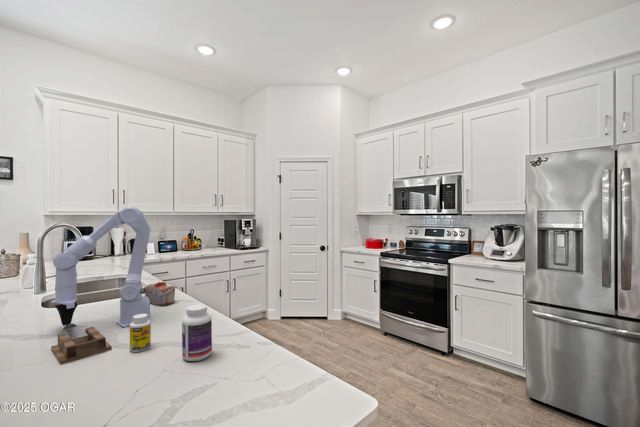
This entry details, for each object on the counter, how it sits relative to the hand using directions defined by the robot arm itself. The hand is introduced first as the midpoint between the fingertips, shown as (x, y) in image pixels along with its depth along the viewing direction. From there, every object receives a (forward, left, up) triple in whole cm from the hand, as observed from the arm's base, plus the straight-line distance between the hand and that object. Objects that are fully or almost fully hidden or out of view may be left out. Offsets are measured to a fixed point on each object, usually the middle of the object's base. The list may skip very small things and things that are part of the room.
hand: (66, 324), depth 106 cm
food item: (-35, -9, -3) cm, 36 cm away
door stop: (0, +13, -2) cm, 13 cm away
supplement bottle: (-12, +35, -3) cm, 37 cm away
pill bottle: (-21, +53, -3) cm, 57 cm away
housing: (0, +22, -2) cm, 22 cm away
